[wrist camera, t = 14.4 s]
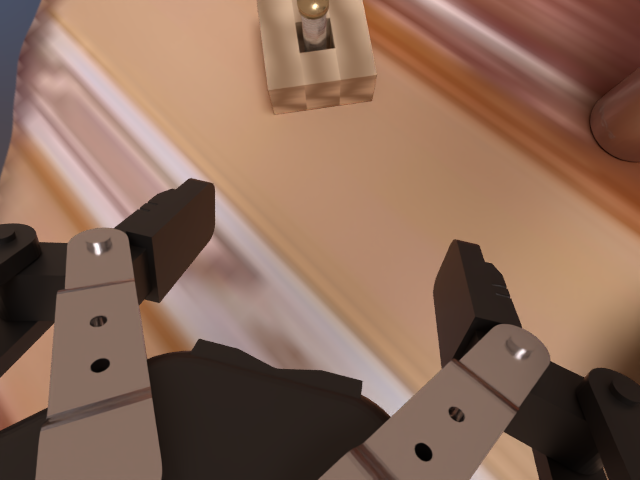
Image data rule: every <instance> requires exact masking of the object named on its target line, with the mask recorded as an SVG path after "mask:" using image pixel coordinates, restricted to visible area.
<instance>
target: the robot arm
mask: <svg viewBox="0 0 640 480" xmlns="http://www.w3.org/2000/svg"><path fill="white" fill-rule="evenodd" d="M590 124H591V129H592V132H593V135H594V137H595V139H596V140H597V142H598V143H599V145H600V146H601V147H602V148H603V149H604V150H606V151H607V152H608V153H610V154H611V155H613V156H615V157H617V158H619V159H622V160H626V161H631V162H640V67H639V68H638V69H637V70H635V71H634V72H633V73H632V74H630V75H629V76H628V77H627V78H625V79H624V80H623V81H622V82H620V83H619V84H618V85H617V86H615V87H614V88H613V89H612V90H610V91H609V92H608V93H607V94H605V95H604V96H603V97H602V98H601V99H600V100H599V101H598V102H597V103H596V104H595V106H594V107H593V109H592V113H591V117H590ZM214 228H215V187H214V184H213V183H210V182H205V181H201V180H197V179H192V178H190V179H188V180H187V181H185V182H184V183H183V184H182V185H181V186H179V187H178V188H177V189H176V190H175V189H170V190H167V191H164V192H162V193H159V194H157V195H156V196H154V197H153V198H152V199H151V200H149V201H148V203H145V204H144V205H143V206H142V207H140V210H139V209H138V210H137V211H135V212H134V213H133V214H131V215H130V216H129V217H128V218H126V219H125V220H124V221H122V222H121V223H120V224H119V225H117V226H116V227H115V228H114V229H113V228H95V229H90V230H86V231H83V232H81V233H79V234H77V235H75V236H74V237H73V238H71V240H70V241H69V242H68V243H46V242H39V241H38V238H37V235H36V231H35V230H34V229H33V228H32V227H30V226H28V225H24V224H1V225H0V377H1V376H2V375H3V374H4V373H5V372H6V371H7V370H8V369H9V368H10V367H11V366H12V365H13V364H14V363H15V362H16V361H17V360H18V359H19V358H20V357H21V356H22V355H23V354H24V353H25V352H26V351H27V350H28V349H29V348H30V347H31V346H32V345H33V344H34V343H35V342H36V341H37V340H38V339H39V338H40V337H41V336H42V335H43V334H44V333H45V332H46V331H47V330H48V329H49V328H50V327H51V326H52V325H53V324H54V336H53V349H52V362H51V375H50V388H49V400H48V408H46V409H44V410H42V411H40V412H38V413H36V414H34V415H31V416H29V417H27V418H25V419H23V420H21V421H19V422H17V423H15V424H13V425H11V426H9V427H7V428H5V429H3V430H1V431H0V480H470V478H471V477H472V475H473V474H474V473H475V471H476V470H477V468H478V467H479V465H480V464H481V463H482V461H483V460H484V458H485V457H486V455H487V454H488V453H489V451H490V450H491V448H492V447H493V446H494V444H495V443H496V441H497V440H498V438H499V437H500V436H501V434H502V433H503V432H505V433H507V434H509V435H510V436H512V437H514V438H516V439H517V440H519V441H521V442H523V443H525V444H526V445H528V446H530V447H532V451H533V455H534V459H535V463H536V467H537V472H538V476H539V480H607V478H606V476H605V473H604V471H603V467H604V468H605V470H606V473H607V475H608V478H609V480H640V386H639V385H638V384H637V383H635V382H634V381H633V380H631V379H630V378H628V377H626V376H624V375H623V374H621V373H618V372H616V371H613V370H610V369H606V368H595V369H593V370H591V371H590V372H589V373H588V374H587V376H586V377H585V378H584V377H582V376H580V375H578V374H576V373H573V372H571V371H569V370H567V369H565V368H563V367H561V366H559V365H557V364H555V363H553V362H551V361H550V355H549V352H548V350H547V348H546V347H545V346H544V344H543V343H542V342H541V341H540V340H539V339H538V338H537V337H535V336H534V335H533V334H531V333H530V332H528V331H526V330H524V329H522V326H521V323H520V321H519V318H518V315H517V313H516V310H515V307H514V305H513V302H512V299H510V294H509V291H508V289H506V287H507V286H506V284H505V281H504V278H503V276H502V274H501V273H500V272H499V271H498V270H497V269H496V268H495V266H494V265H493V264H492V263H487V262H485V261H484V258H483V255H482V252H481V249H480V246H479V245H477V244H473V243H469V242H464V241H460V240H456V239H455V240H453V241H452V243H451V245H450V247H449V249H448V251H447V254H446V256H445V258H444V261H443V263H442V265H441V268H440V270H439V272H438V275H437V277H436V280H435V284H434V290H433V297H434V305H435V314H436V323H437V332H438V340H439V349H440V358H441V366H442V369H441V370H440V371H439V372H438V373H437V374H436V375H435V376H434V377H433V378H432V379H431V380H430V381H429V382H428V383H427V384H426V385H425V386H423V387H422V388H421V389H420V390H419V391H418V392H417V393H416V394H415V395H414V396H413V397H412V398H411V399H410V400H409V401H408V402H407V403H405V404H404V405H403V406H402V407H401V408H400V409H399V410H398V411H397V412H396V413H395V414H394V415H393V416H392V417H390V416H389V415H388V414H387V413H386V412H385V411H384V410H383V409H382V408H381V407H379V406H378V405H377V404H376V403H374V402H373V401H371V400H370V399H368V398H366V397H365V396H363V395H361V391H362V381H361V380H357V379H353V378H349V377H345V376H341V375H337V374H334V373H330V372H326V371H322V370H294V369H277V368H274V367H272V366H270V365H268V364H266V363H264V362H262V361H260V360H258V359H256V358H255V357H253V356H251V355H249V354H247V353H245V352H243V351H241V350H239V349H237V348H233V347H229V346H225V345H221V344H217V343H214V342H210V341H206V340H202V339H199V340H198V341H197V343H196V345H195V346H194V348H193V349H192V351H179V352H172V353H166V354H162V355H158V356H155V357H152V358H149V359H147V355H146V348H145V342H144V335H143V329H142V322H141V316H140V309H139V305H140V304H141V303H142V301H143V300H144V299H145V300H149V301H153V302H157V303H160V302H161V300H162V299H163V298H164V297H165V295H166V294H167V293H168V292H169V291H170V289H171V288H172V287H173V286H174V284H175V283H176V282H177V281H178V279H179V278H180V277H181V276H182V274H183V273H184V272H185V271H186V269H187V268H188V267H189V266H190V264H191V263H192V262H193V261H194V260H195V258H196V257H197V256H198V255H199V253H200V252H201V251H202V250H203V248H204V247H205V246H206V245H207V243H208V242H209V241H210V239H211V237H212V235H213V232H214Z"/></svg>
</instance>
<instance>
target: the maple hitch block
mask: <svg viewBox="0 0 640 480" xmlns="http://www.w3.org/2000/svg"><path fill="white" fill-rule="evenodd" d="M257 7H258V15H259V23H260V31H261V39H262V46H263V54H264V62H265V70H266V78H267V86H268V92H269V96H270V99H271V103H272V107H273V110H274V114H282V113H289V112H296V111H303V110H310V109H317V108H324V107H331V106H338V105H345V104H352V103H359V102H366V101H372V97H373V92H374V87H375V82H376V77H377V72H376V67H375V62H374V57H373V52H372V47H371V41H370V36H369V31H368V26H367V21H366V16H365V11H364V6H363V0H329V9H328V12H327V13H326V40H327V49H326V50H319V51H312V52H305V50H304V39H303V28H302V18H301V14H300V13H299V11H298V7H297V0H257ZM303 52H305V53H303Z"/></svg>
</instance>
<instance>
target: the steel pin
mask: <svg viewBox="0 0 640 480" xmlns="http://www.w3.org/2000/svg"><path fill="white" fill-rule="evenodd" d="M297 7H298V11H299V13H300V14H301V18H302V28H303V39H304V50H305V52H312V51H319V50H326V49H327V40H326V13H327V12H328V9H329V0H297Z"/></svg>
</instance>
